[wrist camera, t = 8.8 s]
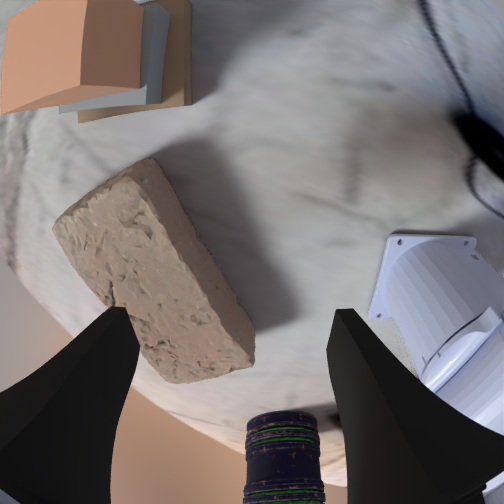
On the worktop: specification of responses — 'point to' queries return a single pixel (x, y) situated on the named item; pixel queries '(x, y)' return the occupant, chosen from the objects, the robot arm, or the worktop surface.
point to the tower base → (175, 66)
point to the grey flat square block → (150, 66)
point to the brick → (157, 275)
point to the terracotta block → (70, 52)
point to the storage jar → (283, 459)
